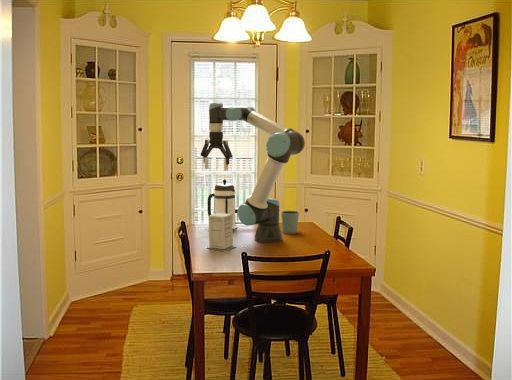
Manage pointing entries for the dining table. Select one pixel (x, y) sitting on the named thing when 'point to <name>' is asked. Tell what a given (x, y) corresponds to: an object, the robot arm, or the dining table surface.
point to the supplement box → (220, 231)
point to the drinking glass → (289, 221)
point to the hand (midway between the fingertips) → (216, 169)
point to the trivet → (222, 249)
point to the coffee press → (223, 200)
